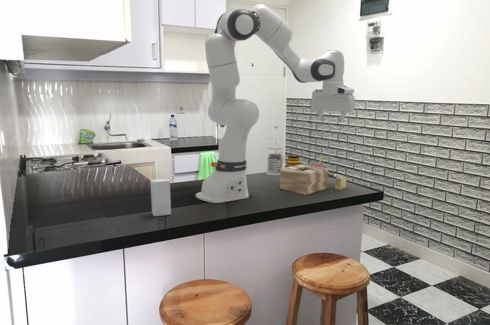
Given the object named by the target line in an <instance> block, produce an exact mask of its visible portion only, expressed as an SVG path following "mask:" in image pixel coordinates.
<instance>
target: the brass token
mask: <svg viewBox="0 0 490 325" xmlns="http://www.w3.org/2000/svg"><path fill="white" fill-rule="evenodd" d="M347 179H348V178H347V176H339V177H335V184H334V186H335V187H334V188H335V190H340V191H341V190H344V189H346V188H347Z"/></svg>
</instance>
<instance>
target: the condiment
mask: <svg viewBox="0 0 490 325" xmlns="http://www.w3.org/2000/svg"><path fill="white" fill-rule="evenodd" d="M295 165H300V157H299V155H298V154H288V155H287V161H286V167H291V166H295Z"/></svg>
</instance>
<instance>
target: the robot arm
mask: <svg viewBox="0 0 490 325" xmlns="http://www.w3.org/2000/svg"><path fill="white" fill-rule="evenodd" d="M254 35H255V36H257V37H258V38H259V39H260V40H261V41H262V42H264V44H266V45H267V46H268V47H269V48H270V49H271V50H272V51H273V53H274V54H276V56H277V57H278V58H279V59H280V60H281V61H282V62H283V63H284V64H285V65H286V66H287V67H288V68H289V70H290V71H291V73H292V76H293V77H294V78H295V80H296V81H297V82H299V83H302V84H306V83H318V82H322V88H321V89H318V88H316V89H314V90H313V91H312V92H311V103H310V109H311V110H312V111H317V114H318V116H319V121H320V122H325V121H326V120H325V118H326V117H325V116H324V115H323V113H324V112H325V111H327V112H340V114H341V116H340V117H338V123H344V119H345V117H346V115H347V113H353V112H354V111H355V109H356V101H355V100H356V97H355V95H354V93H355V89H354V88H352V87H349V86H346V85H344V82H345V81H344V74H345V57H344V54H343V53H342V51H339V50H334V49H330V50H329V49H328V50H326V51H325V52H324V53H323V54H321V55H319V56H317V57H315V58H310V59H309V58H308V59H305V58H302V57H300V56H299V54H298V53H297V52H296V51H295V50H294V49H293V48H292V47H291V45H290V43H291V41H292V37H293V32H292V28H291V26H290V25H289V24H288V23H287V22H286V21H285V19H283V18H282V17H281V16H280V15H279V14H278V13H277V12H275V11H274V10H272V9H271V8H270V7H269V6H268V5H265V4H263V3H258V4H256V5H253V6H252V7H251V8H250V9H249V10H248V9H246V8H245V9H243V8H239V9H231V10H228V11H226V12H224V13H222V14H221V15H220V16H219V18H218V20H217V22H216V27H215V31H214V33H213V34H211V35H209V36H208V37H207V38H206V40H205V42H204V43H205V44H204V47H205V48H204V49H205V59H206V64H207V69H208V73H209V77H210V78H209V79H210V82H211V91H212V92H211V93H212V94H211V101H210V103H209V105H208V108H207V115H208V117H209V119H210V120H211V121H212V122H214V123H215V124H218V125H222V126H225V131H224V134H223V136H222V137H221V138H220V139H219V140H218V159H217V161H216V162H215V161H211V163H210V167H212V168H214V170H213V171H212V172H211V173H210V174H209V175H208V176H207V177H206V178H205V179H204V180H203V182H202V185H201V191H199V192H197V193H195V198H197V199H198V200H201V201H205V202H208V203H213V204H221V203H226V202H232V201H238V200H244V199H249V196H250V195H249V194H250V193H249V190H248V184H247V183H248V181H247V174H246V169H247V160H246V151H247V150H246V148H247V141H248V137H249V134H250V131H251V129H252V128H253V127H254V126H255V125H256V123H258V120H259V119H260V110H259V107H258V105H257V104H256V103H255V102H253V101H251V100H248V99H244V98H243V99H242V98H237V97H236V89H237V87H238V86H239V84H240V81H241V79H240V73H239V69H238V64H237V59H236V54H235V47H236V44H237V42H241V41H247V40H248V39H251V37H252V36H254Z"/></svg>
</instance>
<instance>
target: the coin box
mask: <svg viewBox="0 0 490 325" xmlns="http://www.w3.org/2000/svg"><path fill="white" fill-rule="evenodd" d="M310 165H311V164H310ZM310 165H309V164H303V163H301V164H300V163H299V165H295V166H291V167H287V166H286V167H282V168H281V173H280V175H279V176H280V180H279V189H281V190H285V191H289V192H293V193H297V194H302V195H303V196H304V195H305V196H306V195H310V194H314V193H316V192H319V191H323V190H326V189H327V188H328V177H329V176H328V174H329V173H328V172H329V168H327V167H326V168H321V167H316V166H310Z"/></svg>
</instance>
